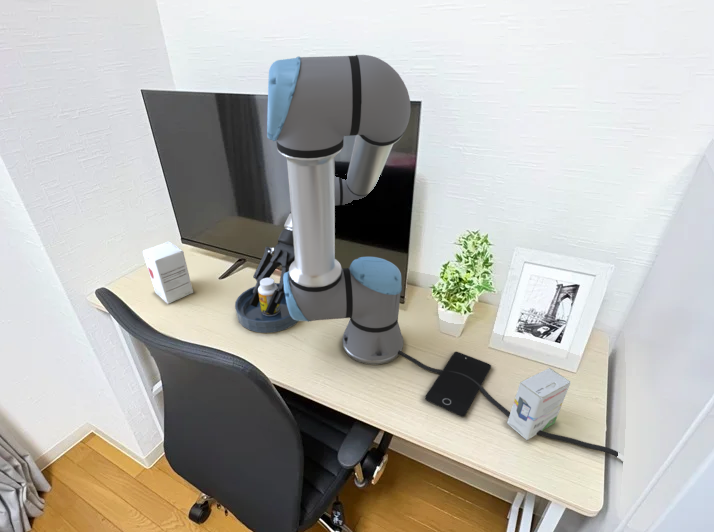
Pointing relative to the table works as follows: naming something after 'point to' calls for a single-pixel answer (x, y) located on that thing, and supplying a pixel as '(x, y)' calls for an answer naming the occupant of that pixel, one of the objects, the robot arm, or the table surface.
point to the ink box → (538, 402)
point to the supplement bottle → (267, 295)
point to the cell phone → (458, 383)
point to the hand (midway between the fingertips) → (260, 309)
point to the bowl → (259, 322)
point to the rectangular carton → (168, 271)
